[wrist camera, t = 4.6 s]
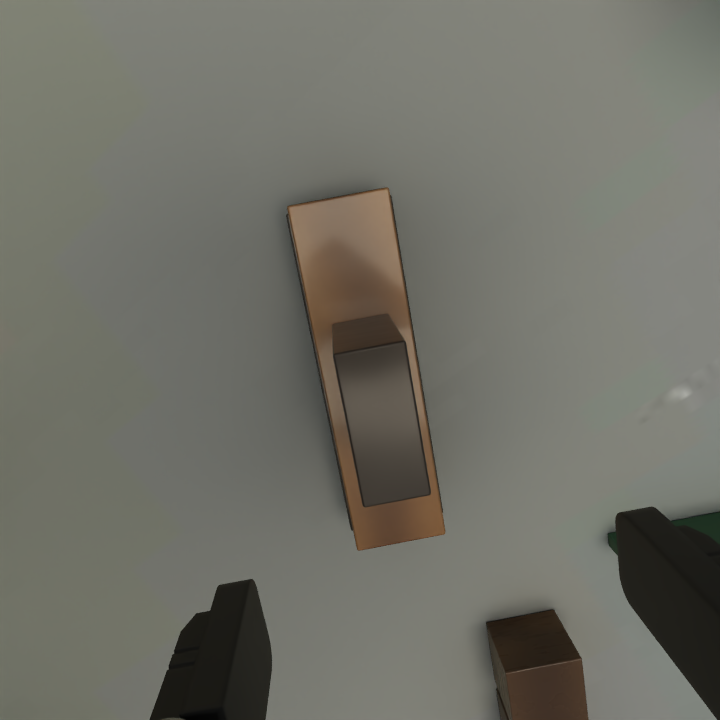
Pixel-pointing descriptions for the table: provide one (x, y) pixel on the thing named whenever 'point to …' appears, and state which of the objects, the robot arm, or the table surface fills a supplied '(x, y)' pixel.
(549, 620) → the cube
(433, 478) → the hand brush
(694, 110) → the table surface
